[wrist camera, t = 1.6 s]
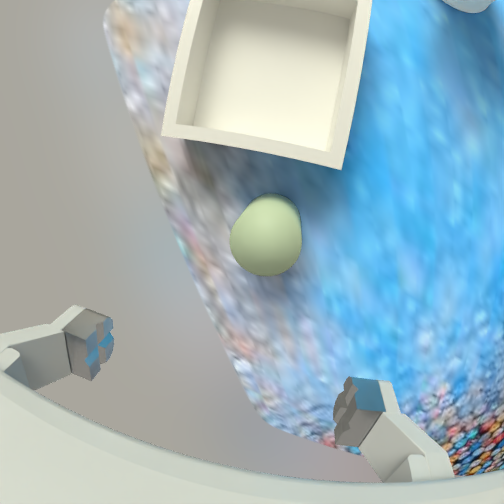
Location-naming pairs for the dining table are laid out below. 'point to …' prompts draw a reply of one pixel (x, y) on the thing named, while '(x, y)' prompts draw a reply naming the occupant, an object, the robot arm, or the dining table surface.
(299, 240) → the pale green rounded piece
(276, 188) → the dining table surface
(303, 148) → the bin
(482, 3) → the mug
